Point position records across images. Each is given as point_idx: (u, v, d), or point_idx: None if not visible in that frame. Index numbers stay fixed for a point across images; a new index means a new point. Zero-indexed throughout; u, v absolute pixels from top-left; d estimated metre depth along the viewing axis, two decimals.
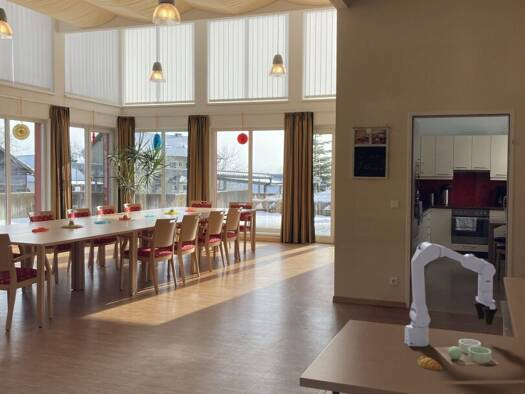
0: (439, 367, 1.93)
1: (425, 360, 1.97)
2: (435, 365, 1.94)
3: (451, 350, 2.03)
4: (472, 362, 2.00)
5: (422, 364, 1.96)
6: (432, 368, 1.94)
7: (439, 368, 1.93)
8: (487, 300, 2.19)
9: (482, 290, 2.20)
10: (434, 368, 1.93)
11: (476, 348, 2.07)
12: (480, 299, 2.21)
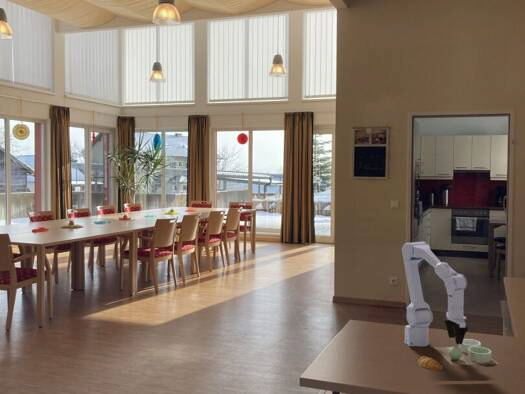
0: (439, 367, 1.94)
1: (425, 360, 1.97)
2: (435, 365, 1.94)
3: (451, 350, 2.03)
4: (472, 362, 2.00)
5: (423, 364, 1.97)
6: (433, 368, 1.94)
7: (439, 368, 1.93)
8: (457, 317, 2.00)
9: None
10: (435, 368, 1.93)
11: (476, 348, 2.07)
12: (450, 316, 2.02)
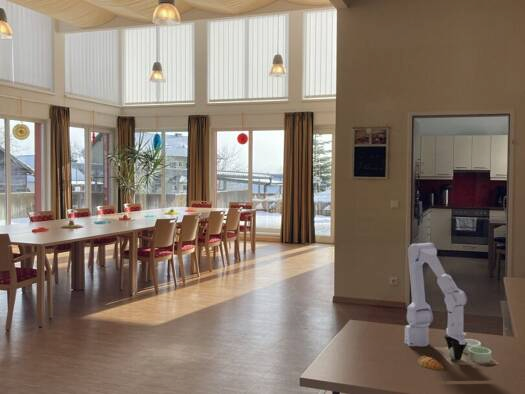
0: (440, 366, 1.94)
1: (426, 360, 1.98)
2: (436, 365, 1.95)
3: (451, 350, 2.03)
4: (472, 362, 2.00)
5: (423, 364, 1.97)
6: (433, 368, 1.94)
7: (440, 367, 1.94)
8: (457, 334, 2.00)
9: None
10: (435, 368, 1.94)
11: (476, 348, 2.07)
12: (450, 332, 2.02)
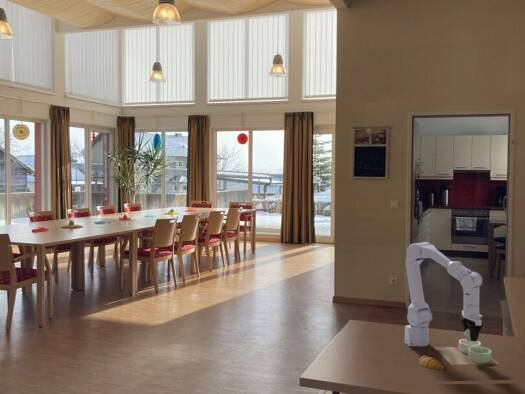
0: (441, 366, 1.94)
1: (426, 359, 1.98)
2: (437, 364, 1.95)
3: (467, 332, 2.02)
4: (472, 362, 2.00)
5: (424, 363, 1.97)
6: (434, 367, 1.94)
7: (441, 367, 1.94)
8: (473, 315, 2.00)
9: (463, 303, 2.03)
10: (436, 367, 1.94)
11: (476, 348, 2.07)
12: (465, 314, 2.02)
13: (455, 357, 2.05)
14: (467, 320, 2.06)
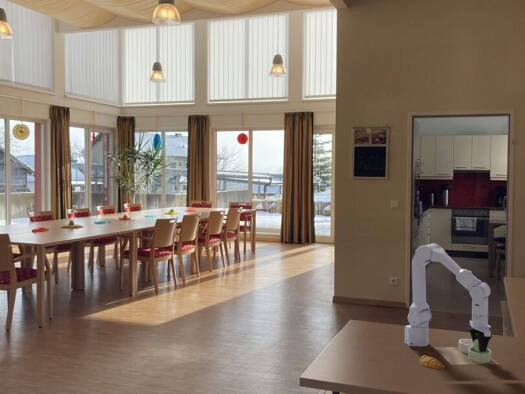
0: (441, 366, 1.95)
1: (427, 359, 1.98)
2: (437, 364, 1.95)
3: (475, 342, 2.03)
4: (472, 362, 2.00)
5: (424, 363, 1.97)
6: (434, 367, 1.95)
7: (441, 367, 1.94)
8: (482, 326, 2.00)
9: (472, 313, 2.03)
10: (436, 367, 1.94)
11: None
12: (474, 325, 2.02)
13: (455, 357, 2.05)
14: (475, 330, 2.06)
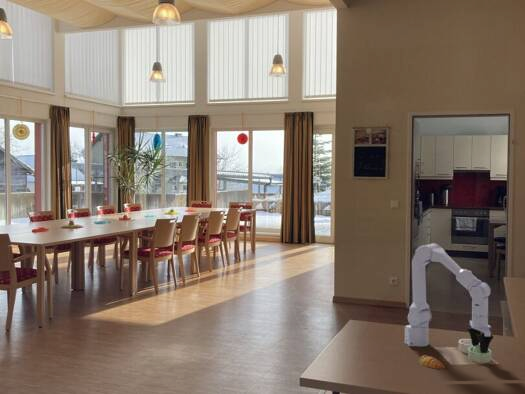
0: (441, 365, 1.95)
1: (427, 359, 1.98)
2: (437, 364, 1.96)
3: (475, 349, 2.03)
4: (472, 362, 2.00)
5: (425, 363, 1.97)
6: (435, 367, 1.95)
7: (441, 366, 1.95)
8: (482, 326, 2.00)
9: (472, 313, 2.03)
10: (437, 367, 1.94)
11: None
12: (474, 325, 2.02)
13: (455, 357, 2.05)
14: (474, 330, 2.07)
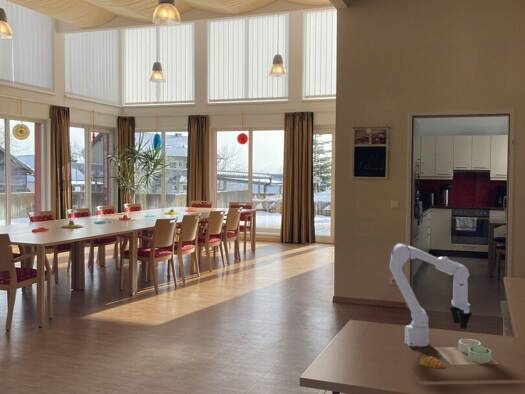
0: (442, 365, 1.95)
1: (427, 359, 1.99)
2: (438, 363, 1.96)
3: (476, 349, 2.03)
4: (472, 362, 2.00)
5: (425, 363, 1.98)
6: (435, 366, 1.95)
7: (442, 366, 1.95)
8: (462, 304, 2.16)
9: (456, 293, 2.17)
10: (437, 366, 1.95)
11: None
12: (455, 303, 2.18)
13: (455, 357, 2.05)
14: (455, 308, 2.23)
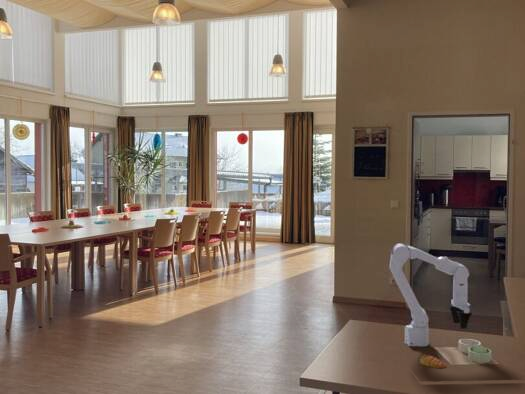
0: (443, 365, 1.96)
1: (428, 358, 1.99)
2: (438, 363, 1.96)
3: (476, 349, 2.02)
4: (472, 362, 2.00)
5: (426, 362, 1.98)
6: (436, 366, 1.95)
7: (443, 366, 1.95)
8: (462, 304, 2.16)
9: (455, 293, 2.17)
10: (438, 366, 1.95)
11: None
12: (455, 303, 2.18)
13: (455, 357, 2.05)
14: (455, 308, 2.23)
